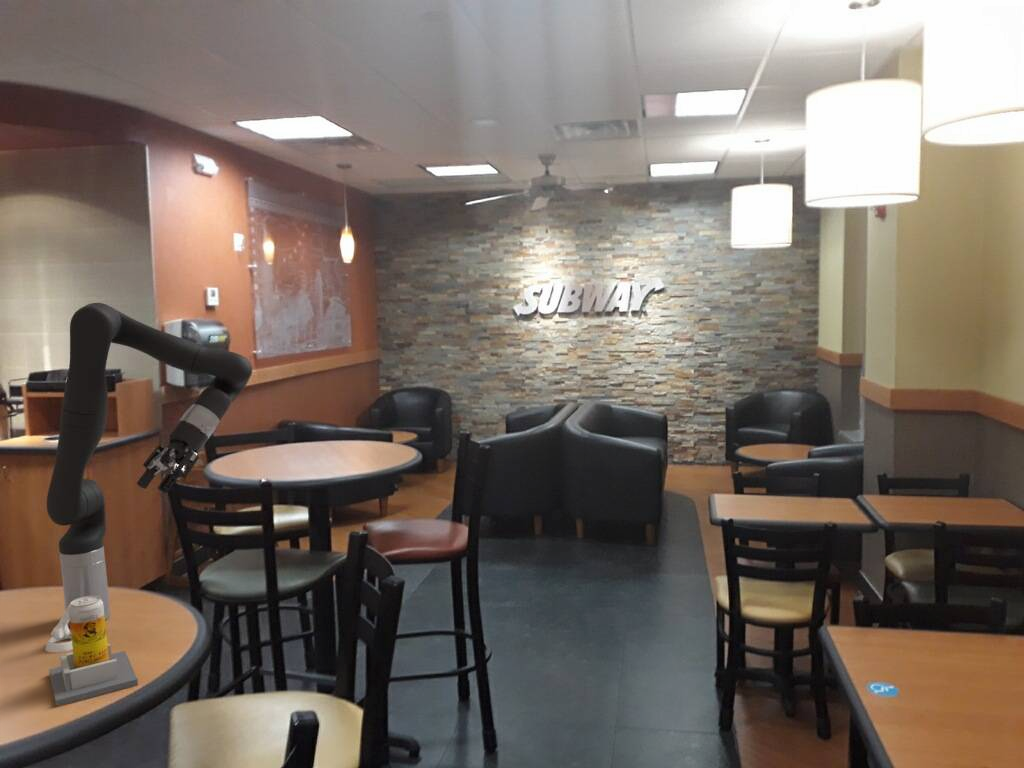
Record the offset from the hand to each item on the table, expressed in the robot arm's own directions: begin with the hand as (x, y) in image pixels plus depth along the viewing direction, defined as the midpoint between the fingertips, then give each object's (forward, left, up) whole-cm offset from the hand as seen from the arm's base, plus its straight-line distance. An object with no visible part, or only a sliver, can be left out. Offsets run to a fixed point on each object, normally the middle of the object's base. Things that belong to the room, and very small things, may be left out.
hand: (150, 489), depth 179 cm
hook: (-9, -19, -34) cm, 40 cm away
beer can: (+13, -16, -33) cm, 38 cm away
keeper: (+13, -16, -34) cm, 39 cm away
